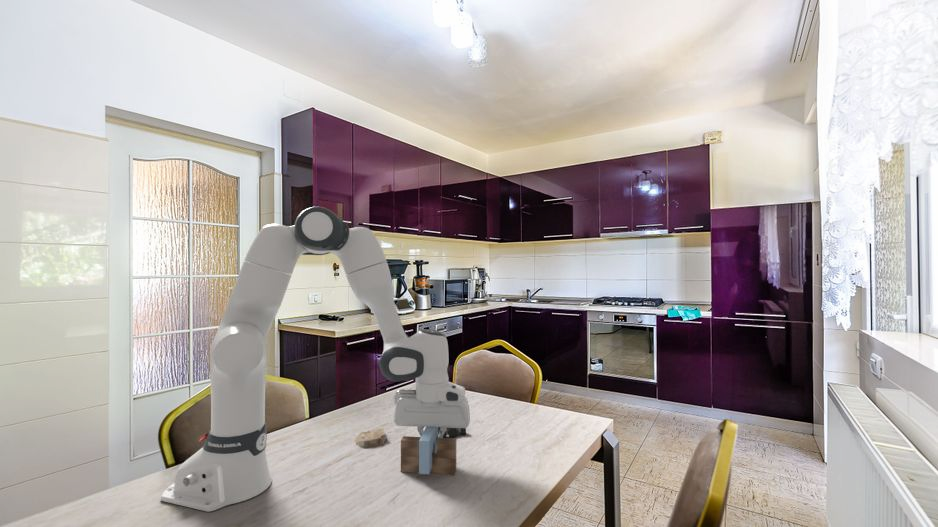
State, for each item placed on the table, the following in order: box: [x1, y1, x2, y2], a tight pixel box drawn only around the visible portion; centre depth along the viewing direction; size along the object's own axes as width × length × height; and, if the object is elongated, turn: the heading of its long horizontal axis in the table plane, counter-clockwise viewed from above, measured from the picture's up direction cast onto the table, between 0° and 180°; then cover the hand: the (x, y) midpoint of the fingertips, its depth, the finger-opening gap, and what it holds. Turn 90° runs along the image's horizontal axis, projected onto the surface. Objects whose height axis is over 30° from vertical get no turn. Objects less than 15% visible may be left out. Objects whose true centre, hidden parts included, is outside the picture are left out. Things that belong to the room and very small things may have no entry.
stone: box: [354, 428, 388, 448], centre depth 120 cm, size 9×6×3 cm
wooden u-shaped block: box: [400, 435, 457, 476], centre depth 103 cm, size 14×2×8 cm, turn 84°
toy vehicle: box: [438, 427, 467, 438], centre depth 130 cm, size 8×15×9 cm, turn 23°
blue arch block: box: [418, 427, 438, 475], centre depth 103 cm, size 12×2×8 cm, turn 174°
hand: (432, 442), depth 107 cm, fingers closed on blue arch block, 2 cm apart
